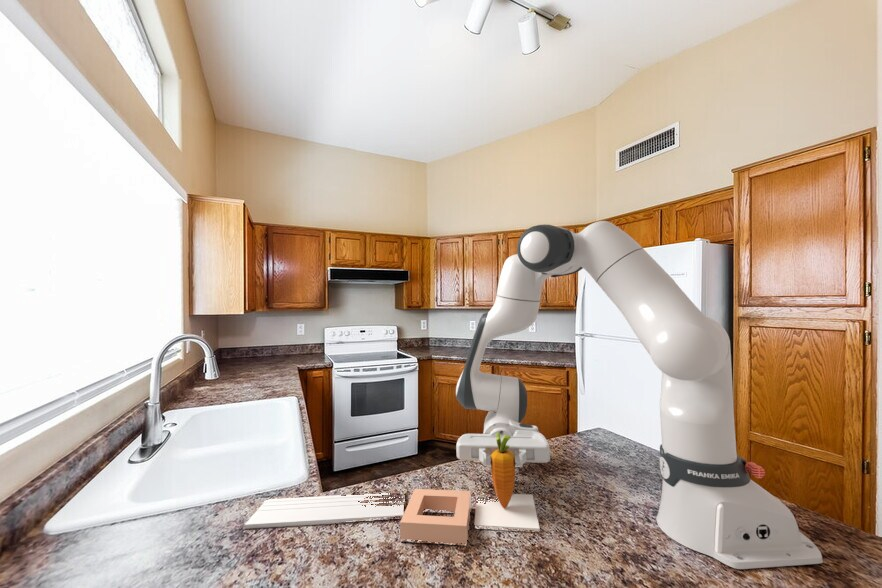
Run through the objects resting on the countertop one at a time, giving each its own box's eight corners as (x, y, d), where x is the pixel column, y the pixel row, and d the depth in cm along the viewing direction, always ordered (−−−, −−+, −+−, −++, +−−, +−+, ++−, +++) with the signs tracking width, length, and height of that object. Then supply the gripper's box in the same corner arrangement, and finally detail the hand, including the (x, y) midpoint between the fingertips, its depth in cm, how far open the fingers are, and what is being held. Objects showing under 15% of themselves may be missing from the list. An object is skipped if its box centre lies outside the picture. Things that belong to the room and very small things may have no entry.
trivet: (532, 498, 77) (532, 494, 77) (539, 533, 65) (539, 528, 65) (477, 496, 78) (477, 492, 78) (474, 529, 66) (474, 524, 66)
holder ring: (471, 508, 74) (470, 491, 74) (467, 546, 62) (466, 526, 62) (415, 505, 75) (414, 488, 75) (400, 542, 63) (400, 522, 64)
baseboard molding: (271, 500, 81) (244, 532, 69) (271, 487, 81) (244, 517, 69) (407, 492, 82) (404, 523, 70) (406, 479, 82) (403, 508, 70)
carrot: (492, 500, 75) (489, 429, 75) (515, 501, 74) (513, 429, 75) (492, 514, 70) (489, 437, 70) (517, 515, 69) (515, 438, 70)
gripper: (458, 424, 87) (451, 445, 73) (543, 426, 84) (553, 448, 70) (458, 450, 86) (452, 476, 72) (545, 453, 83) (555, 481, 70)
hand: (503, 462), depth 71 cm, fingers closed on carrot, 5 cm apart
